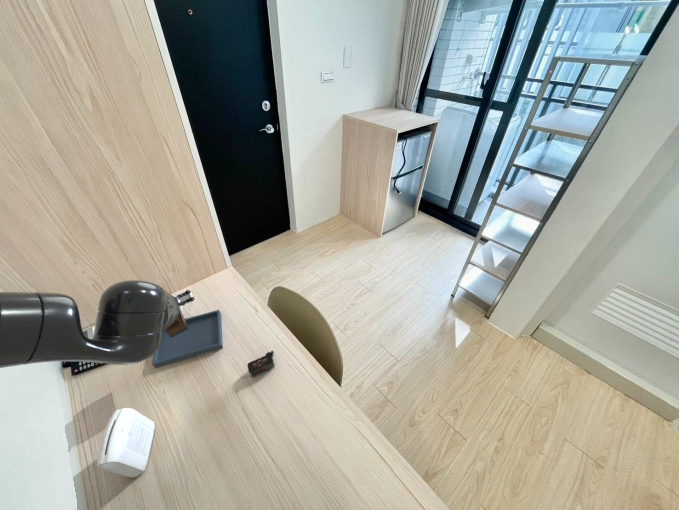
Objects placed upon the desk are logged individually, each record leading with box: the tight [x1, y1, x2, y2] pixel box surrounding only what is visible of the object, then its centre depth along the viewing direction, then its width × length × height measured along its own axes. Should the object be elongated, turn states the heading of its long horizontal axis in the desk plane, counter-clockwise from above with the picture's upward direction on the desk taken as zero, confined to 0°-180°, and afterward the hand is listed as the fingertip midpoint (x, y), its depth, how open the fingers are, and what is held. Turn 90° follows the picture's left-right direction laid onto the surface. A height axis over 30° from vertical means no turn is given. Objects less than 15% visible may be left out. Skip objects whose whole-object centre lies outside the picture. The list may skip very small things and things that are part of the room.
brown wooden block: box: [165, 306, 189, 338], centre depth 64 cm, size 8×4×7 cm, turn 38°
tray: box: [151, 309, 224, 369], centre depth 78 cm, size 17×12×2 cm
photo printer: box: [96, 407, 156, 478], centre depth 55 cm, size 10×4×12 cm, turn 14°
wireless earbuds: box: [246, 350, 276, 378], centre depth 72 cm, size 5×7×3 cm, turn 117°
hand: (166, 307), depth 65 cm, fingers closed on brown wooden block, 2 cm apart
